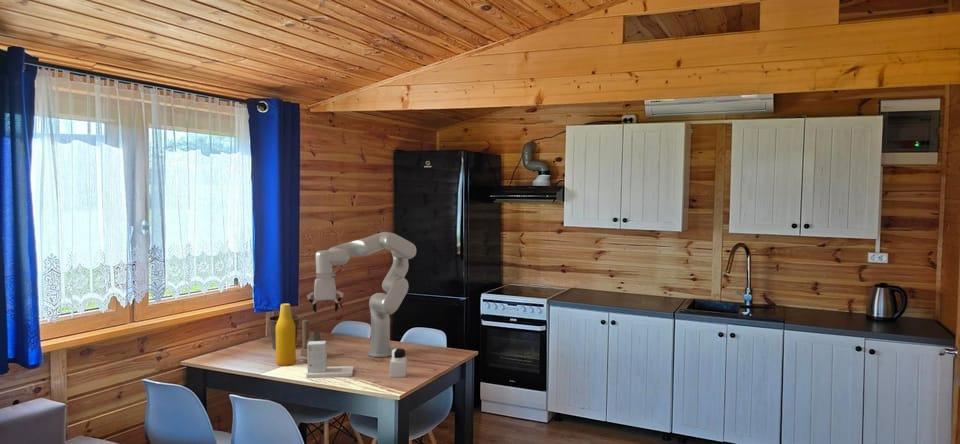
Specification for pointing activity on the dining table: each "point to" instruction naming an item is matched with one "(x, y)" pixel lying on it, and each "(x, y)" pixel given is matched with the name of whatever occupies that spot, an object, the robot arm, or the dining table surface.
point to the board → (332, 372)
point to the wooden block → (305, 336)
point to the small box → (316, 356)
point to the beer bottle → (285, 337)
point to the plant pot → (273, 323)
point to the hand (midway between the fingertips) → (325, 311)
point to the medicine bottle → (398, 363)
